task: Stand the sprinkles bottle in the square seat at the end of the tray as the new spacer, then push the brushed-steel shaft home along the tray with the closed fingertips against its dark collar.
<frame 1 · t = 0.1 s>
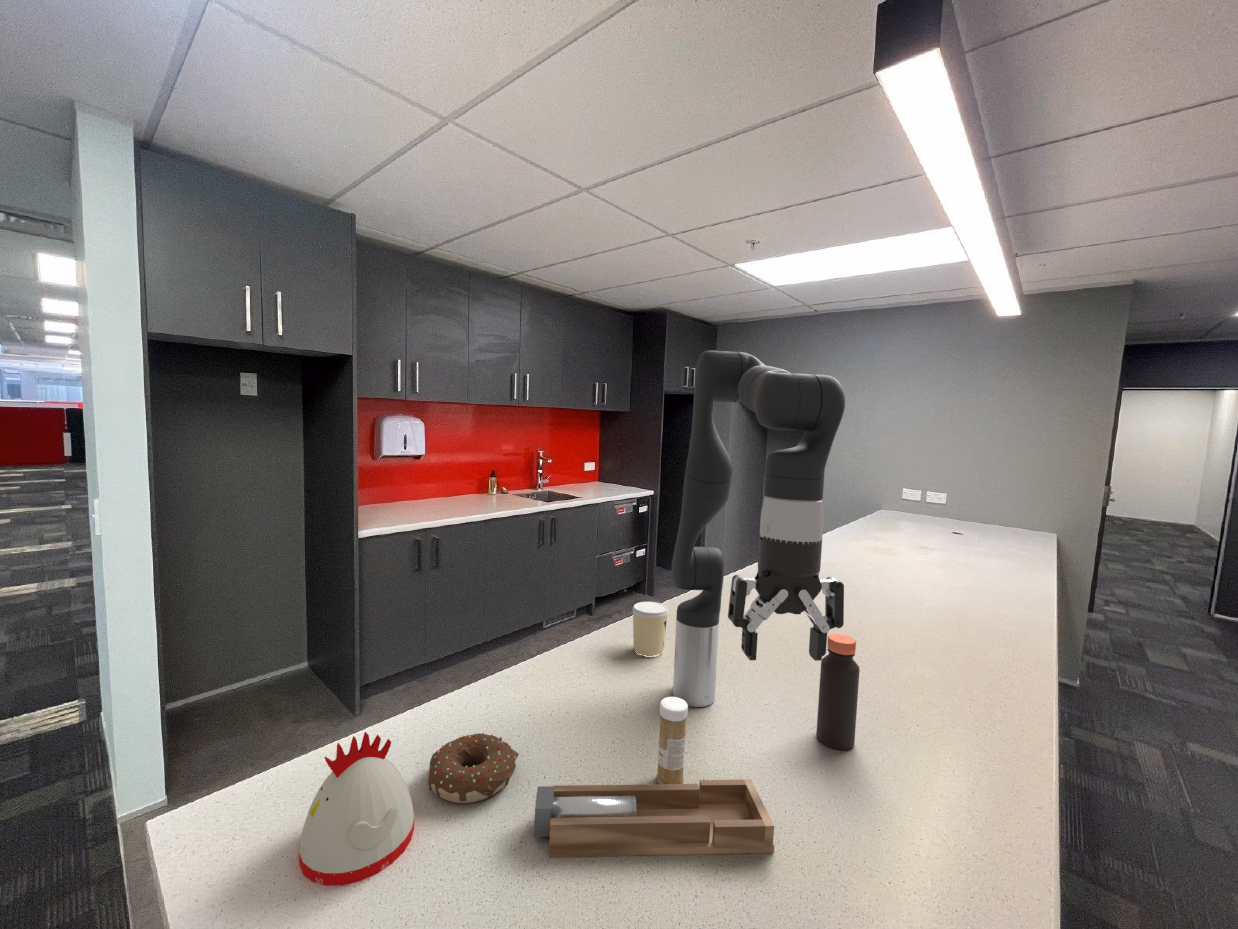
hand: (782, 658, 65), 29 cm above the countertop, fingers open, 8 cm apart
shaft: (585, 810, 72), point 3 cm above the countertop, slide at 0.0 cm
coffee cup: (648, 652, 133), on the countertop
tray: (654, 829, 73), on the countertop
sprinkles bottle: (670, 782, 83), on the countertop
kitchen timer: (359, 842, 69), on the countertop
donut: (474, 781, 82), on the countertop
vinegar: (834, 741, 97), on the countertop
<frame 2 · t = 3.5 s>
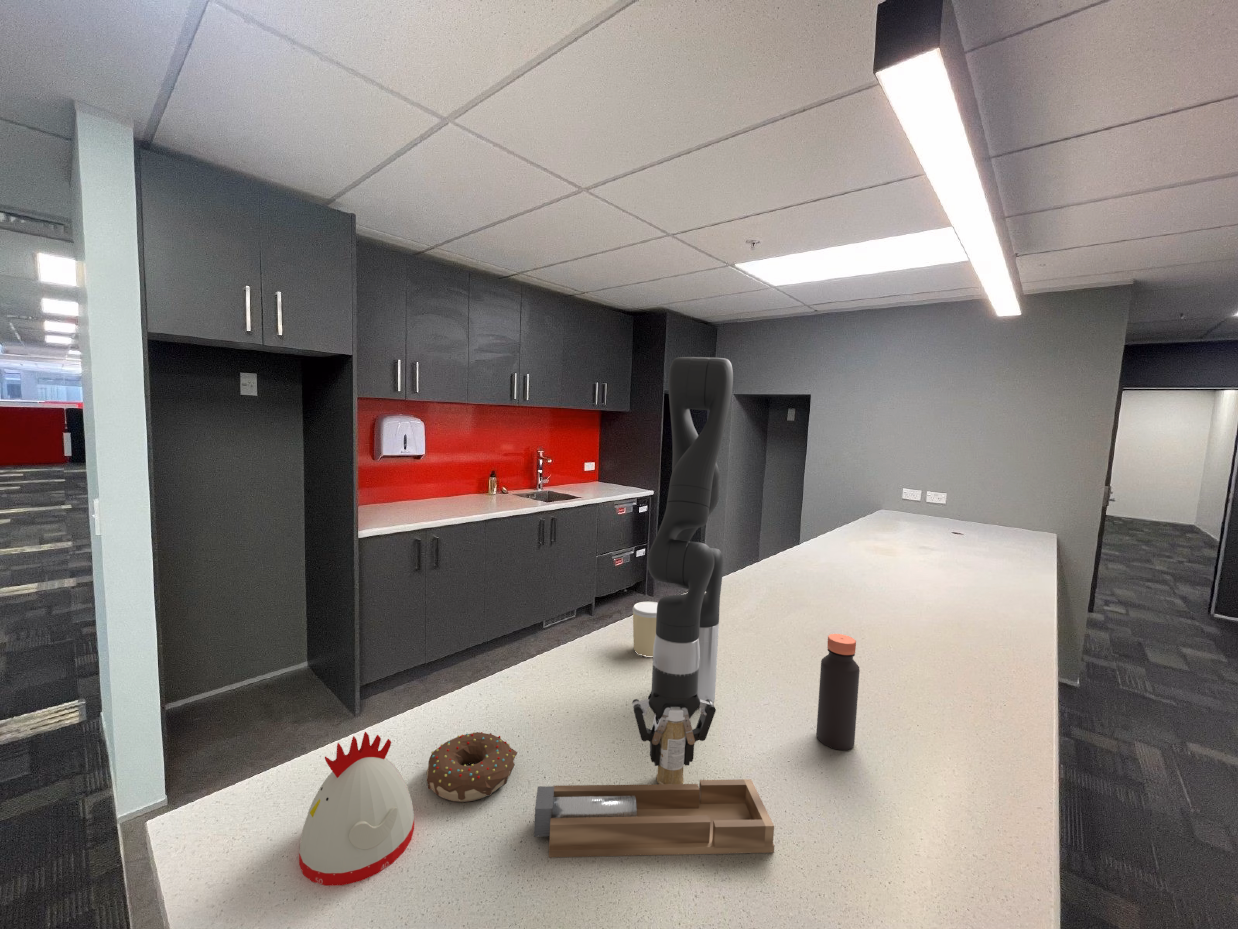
hand: (670, 762, 83), 3 cm above the countertop, fingers closed on sprinkles bottle, 4 cm apart
sprinkles bottle: (670, 782, 83), on the countertop, touching gripper
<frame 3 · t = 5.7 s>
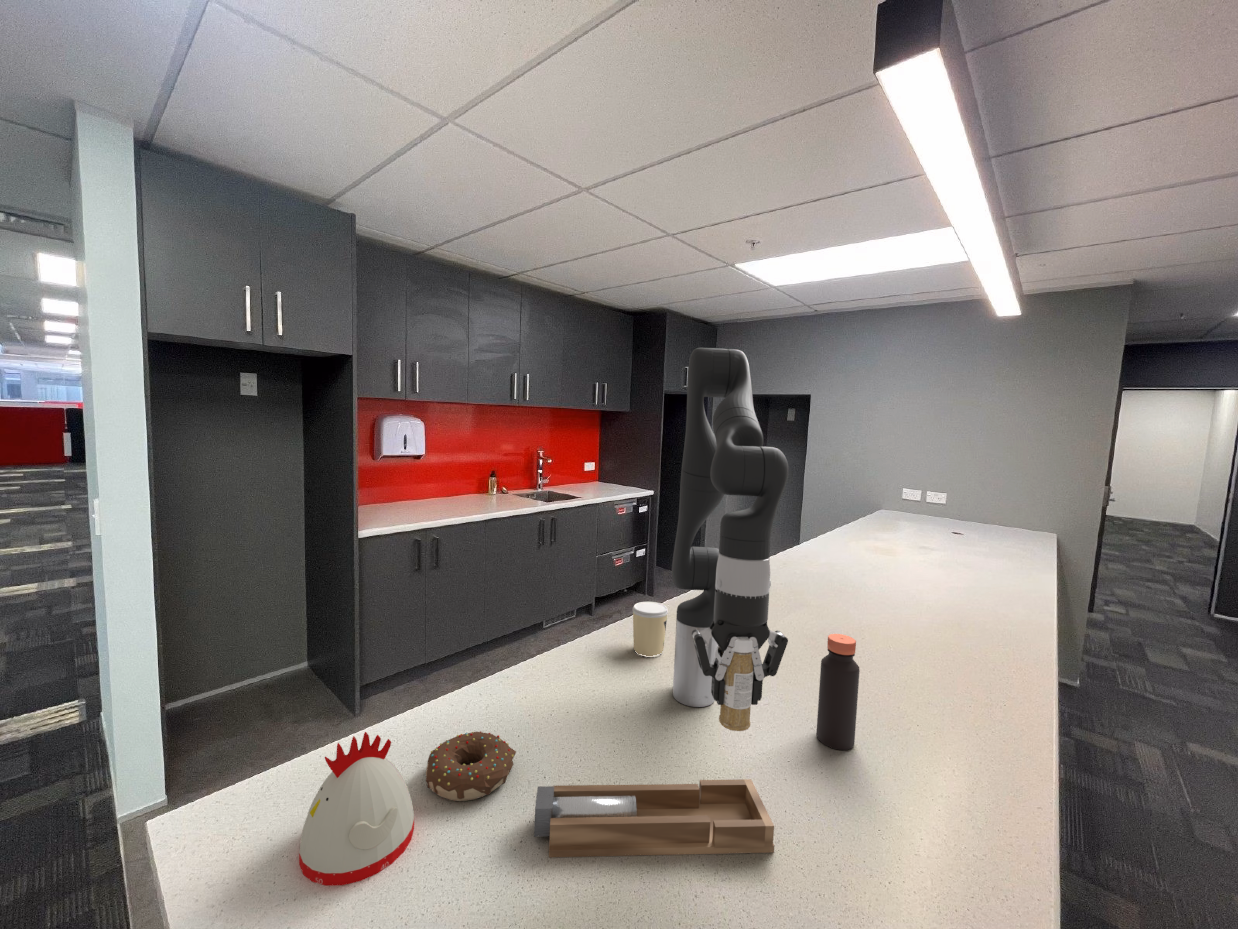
hand: (735, 701, 73), 19 cm above the countertop, fingers closed on sprinkles bottle, 4 cm apart
sprinkles bottle: (734, 725, 73), point 16 cm above the countertop, touching gripper
everything else where it was.
when the fingers open (6 cm above the countertop, at t = 8.0 s): sprinkles bottle drops 1 cm, resting on tray.
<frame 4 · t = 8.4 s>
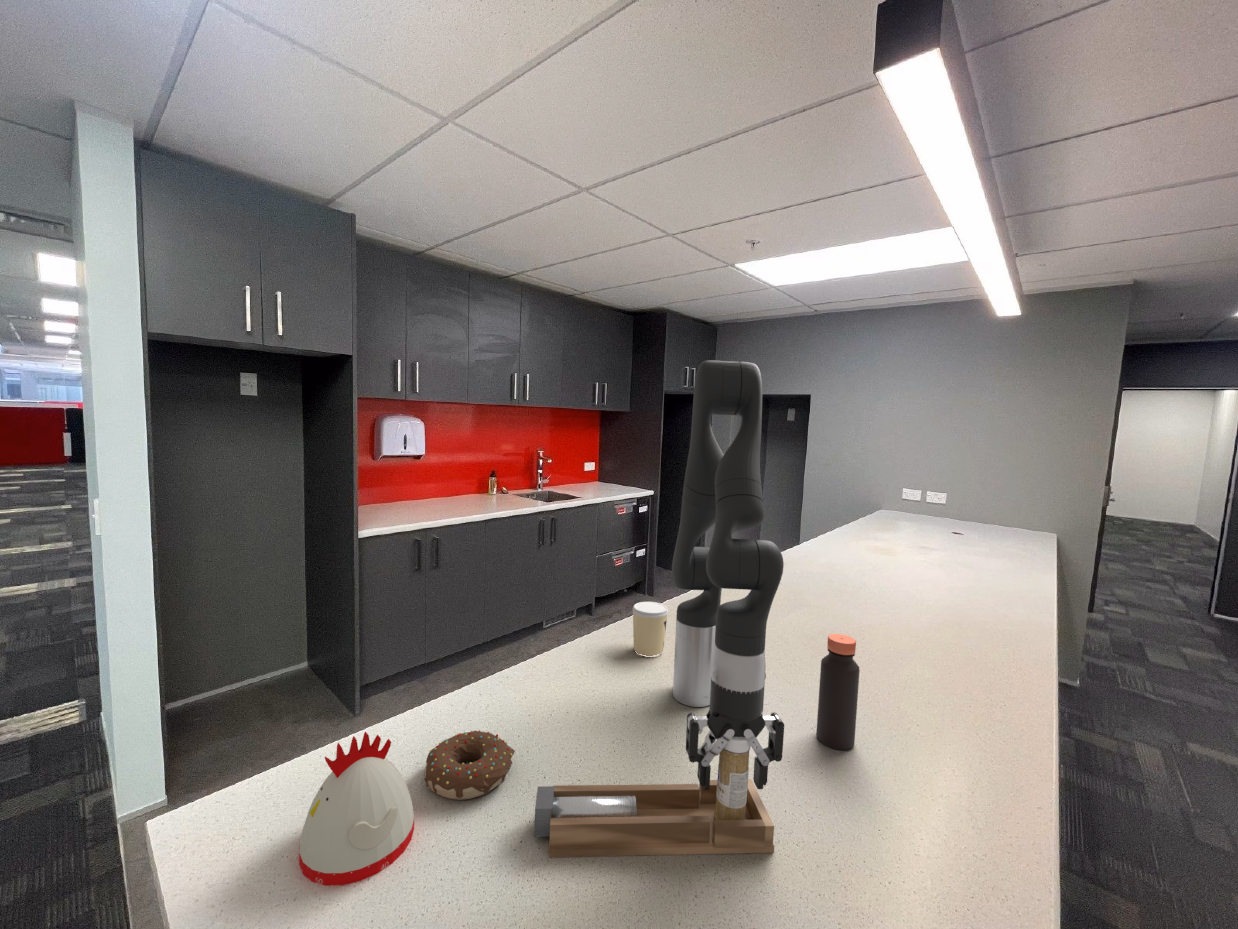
hand: (731, 786, 74), 6 cm above the countertop, fingers open, 7 cm apart
sprinkles bottle: (730, 822, 74), point 1 cm above the countertop, touching tray
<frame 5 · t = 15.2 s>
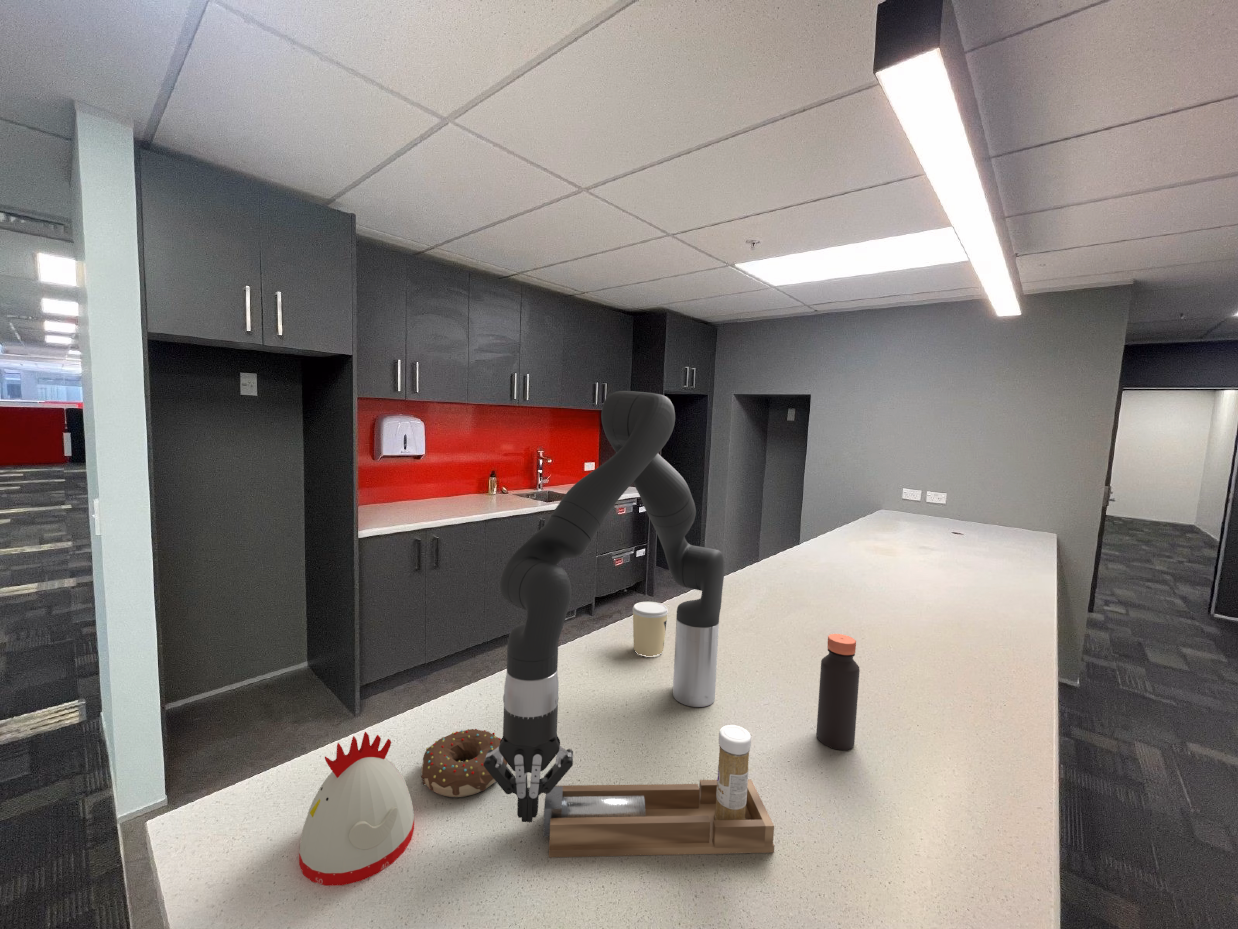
hand: (527, 817, 72), 2 cm above the countertop, fingers closed
shaft: (594, 810, 72), point 3 cm above the countertop, slide at 1.3 cm, touching gripper
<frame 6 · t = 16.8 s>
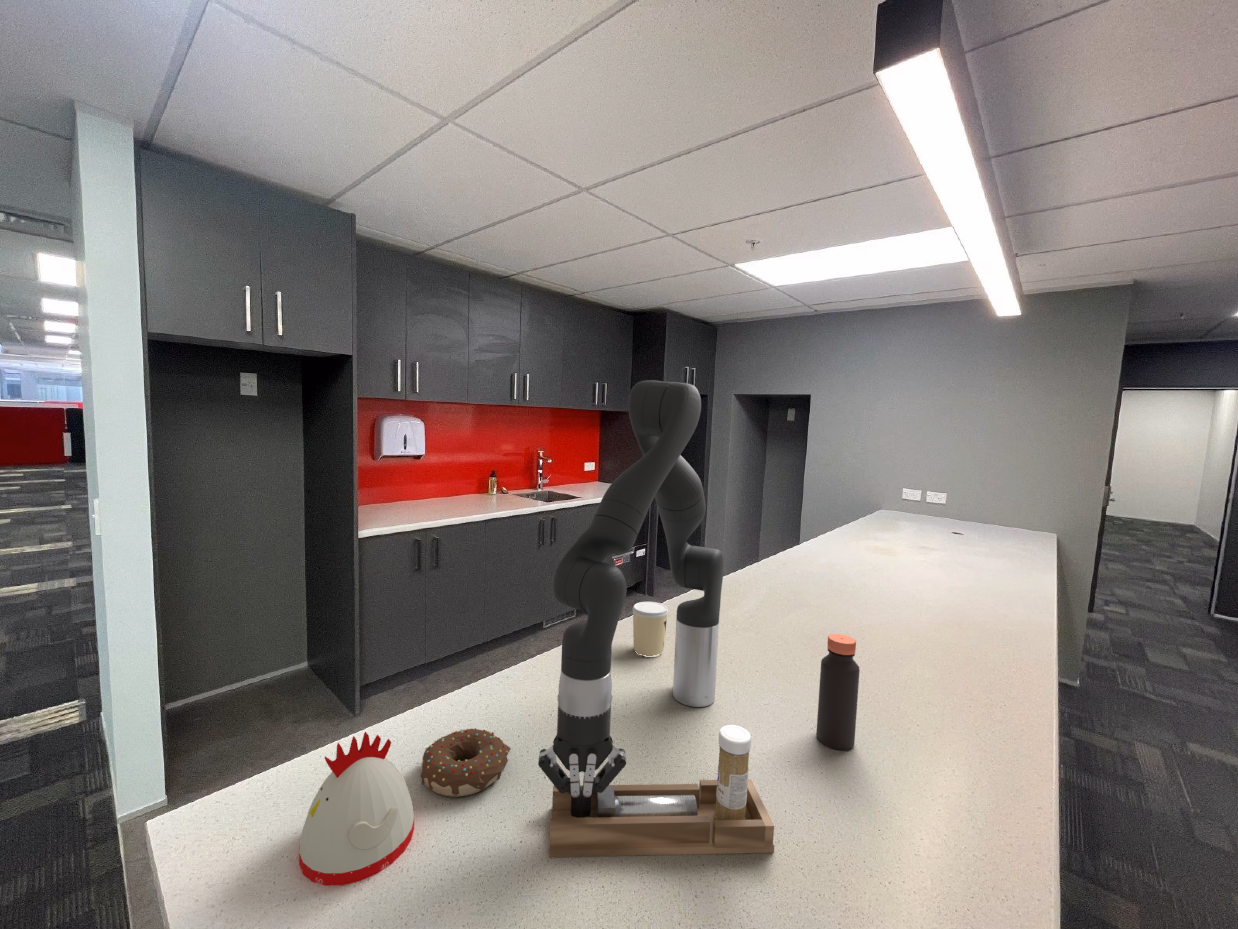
hand: (580, 816, 72), 2 cm above the countertop, fingers closed
shaft: (646, 809, 73), point 3 cm above the countertop, slide at 8.7 cm, touching gripper
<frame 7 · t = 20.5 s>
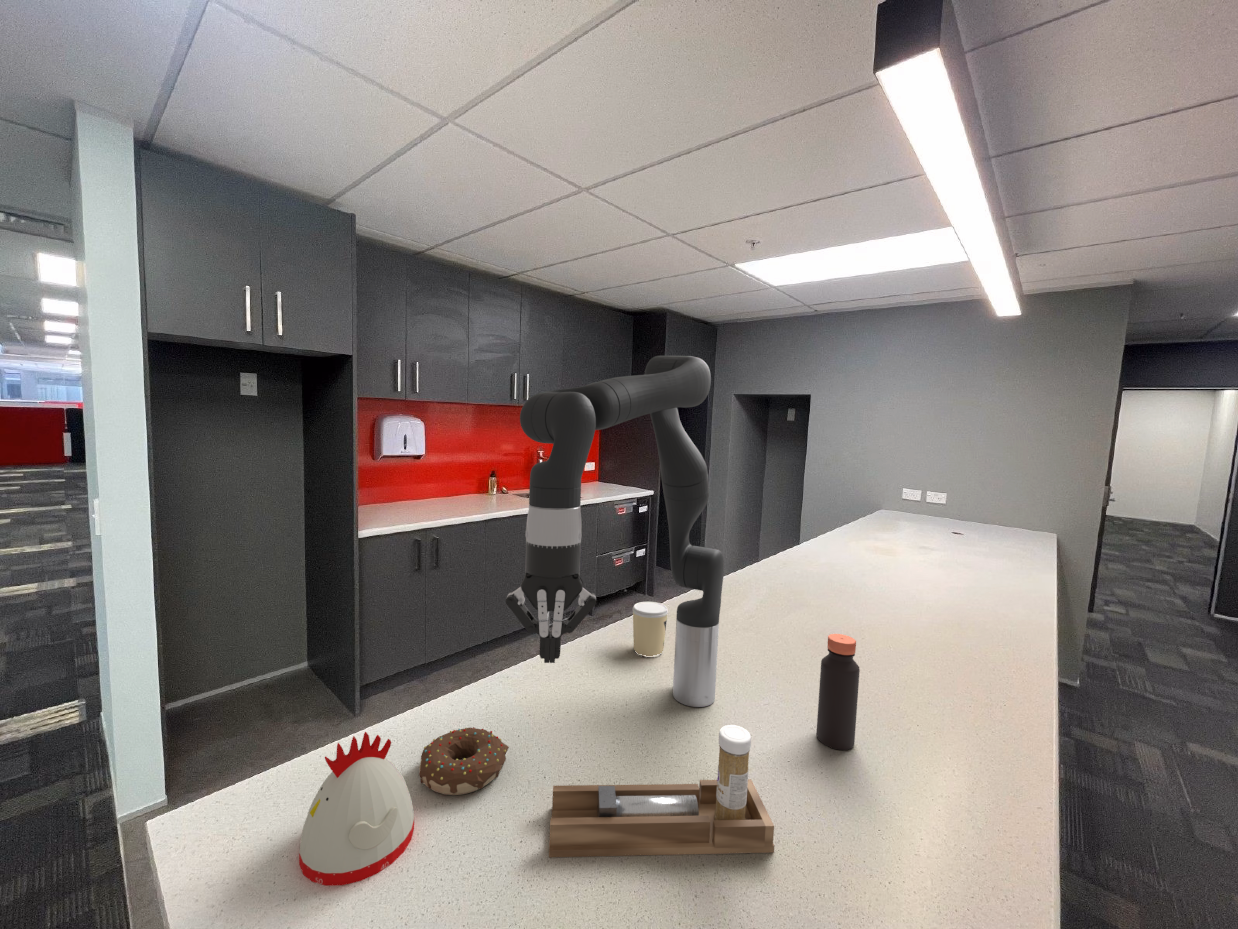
hand: (549, 660, 70), 25 cm above the countertop, fingers closed
shaft: (647, 809, 73), point 3 cm above the countertop, slide at 8.9 cm
at the end: sprinkles bottle inside the target area on the tray (0.2 cm from its centre), point 0.8 cm above the tray's base; sprinkles bottle tilted 0°; shaft slide at 8.9 cm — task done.
